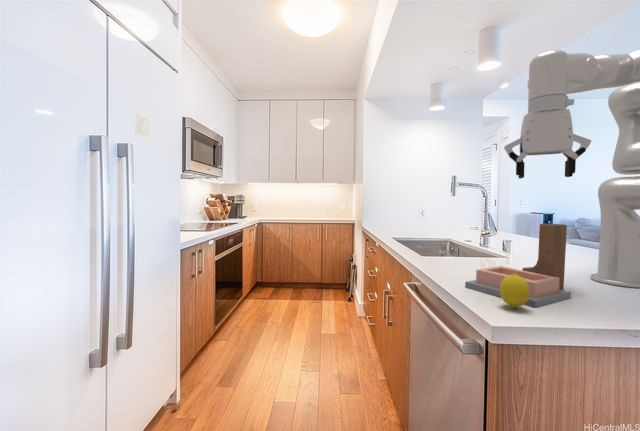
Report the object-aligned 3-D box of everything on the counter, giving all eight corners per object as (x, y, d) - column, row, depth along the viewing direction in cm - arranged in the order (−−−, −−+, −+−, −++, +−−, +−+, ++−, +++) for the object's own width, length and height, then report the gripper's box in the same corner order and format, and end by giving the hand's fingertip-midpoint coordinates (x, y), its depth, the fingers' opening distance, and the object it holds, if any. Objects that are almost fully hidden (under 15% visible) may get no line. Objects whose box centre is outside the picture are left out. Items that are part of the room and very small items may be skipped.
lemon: (494, 303, 71) (496, 270, 71) (519, 304, 71) (521, 271, 70) (506, 312, 66) (508, 276, 65) (533, 313, 65) (535, 277, 65)
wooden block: (521, 282, 90) (523, 222, 89) (532, 281, 91) (535, 222, 90) (552, 291, 81) (555, 225, 80) (564, 290, 83) (567, 224, 82)
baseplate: (500, 280, 92) (500, 264, 92) (570, 297, 76) (571, 278, 76) (465, 287, 85) (465, 269, 84) (535, 307, 69) (536, 286, 68)
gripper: (585, 106, 73) (582, 177, 74) (503, 115, 81) (501, 179, 82) (599, 97, 67) (595, 175, 68) (507, 107, 74) (505, 178, 75)
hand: (544, 177), depth 75 cm, fingers open, 9 cm apart
